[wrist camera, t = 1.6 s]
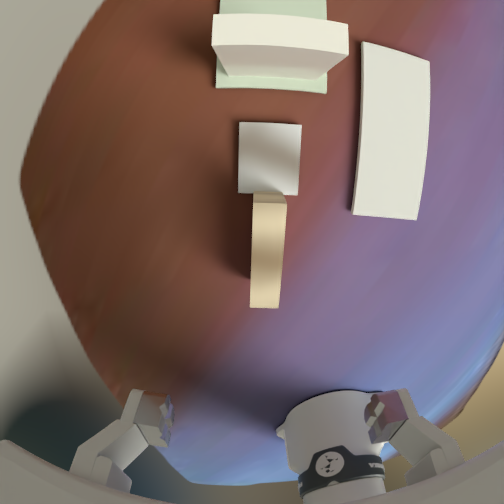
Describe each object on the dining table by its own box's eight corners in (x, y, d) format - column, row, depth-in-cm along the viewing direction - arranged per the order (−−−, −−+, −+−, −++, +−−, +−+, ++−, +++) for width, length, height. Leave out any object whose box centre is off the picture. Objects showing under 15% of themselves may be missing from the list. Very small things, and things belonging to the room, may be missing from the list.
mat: (325, 93, 20) (326, 93, 20) (216, 88, 20) (215, 87, 20) (323, -25, 15) (324, -26, 14) (223, -31, 15) (223, -32, 14)
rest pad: (413, 218, 24) (416, 220, 24) (350, 212, 24) (353, 214, 24) (426, 62, 18) (429, 61, 17) (361, 43, 18) (363, 41, 17)
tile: (314, 80, 19) (348, 55, 11) (228, 76, 19) (211, 45, 11) (315, 56, 18) (347, 19, 10) (229, 51, 18) (213, 10, 10)
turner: (288, 282, 28) (293, 308, 24) (237, 280, 28) (234, 306, 24) (300, 125, 21) (310, 124, 17) (239, 122, 21) (236, 120, 17)
